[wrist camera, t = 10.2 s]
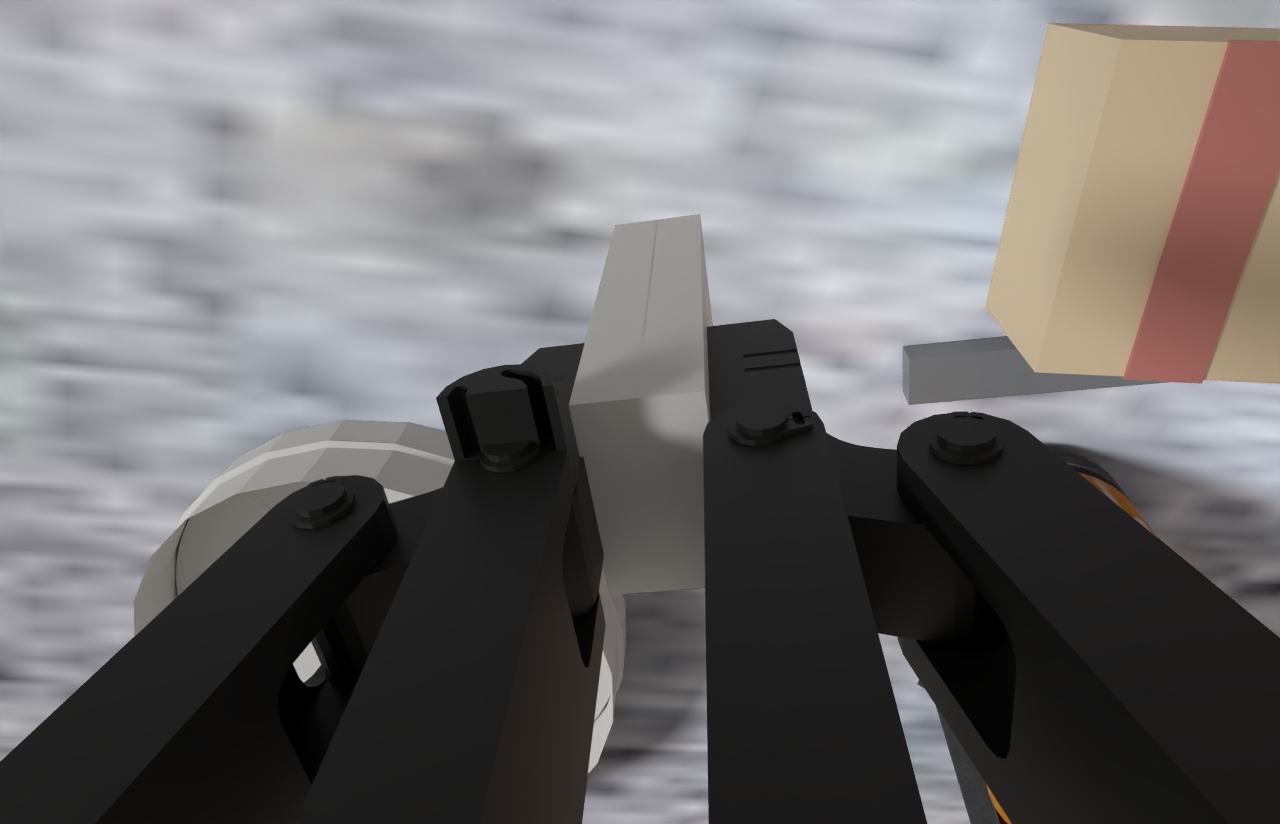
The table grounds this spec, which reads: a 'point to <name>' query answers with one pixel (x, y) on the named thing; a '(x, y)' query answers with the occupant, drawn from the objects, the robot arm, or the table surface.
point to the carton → (1147, 206)
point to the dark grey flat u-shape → (985, 373)
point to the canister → (977, 796)
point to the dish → (303, 456)
